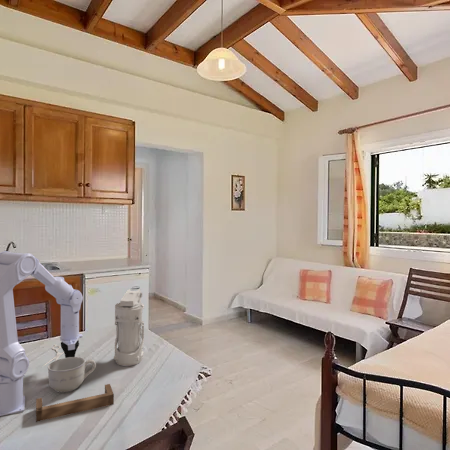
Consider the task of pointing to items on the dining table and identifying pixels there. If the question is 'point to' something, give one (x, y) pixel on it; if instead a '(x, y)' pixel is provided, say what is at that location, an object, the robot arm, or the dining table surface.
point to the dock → (74, 405)
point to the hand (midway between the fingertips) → (69, 362)
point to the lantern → (129, 329)
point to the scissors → (57, 354)
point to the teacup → (68, 373)
